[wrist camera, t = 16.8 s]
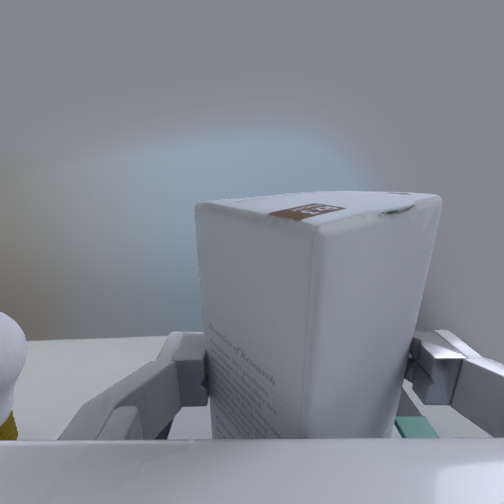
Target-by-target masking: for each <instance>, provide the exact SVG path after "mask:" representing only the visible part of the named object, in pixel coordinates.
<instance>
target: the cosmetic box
mask: <svg viewBox="0 0 504 504" xmlns="http://www.w3.org/2000/svg"><path fill="white" fill-rule="evenodd" d="M442 203H443V202H442V199H441V197H440V196H438V195H434V194H421V193H407V192H405V193H404V192H368V191H321V192H320V191H319V192H304V193H291V194H281V195H270V196H259V197H249V198H238V199H228V200H215V201H202V202H199V203H197V204H196V206H195V223H196V238H197V252H198V265H199V276H200V288H201V299H202V313H203V325H204V338H205V350H206V355H207V366H208V368H207V375H208V379H209V393H210V394H209V399H210V415H211V429H212V439H342V438H391V436H392V431H393V426H394V421H395V417H396V412H397V408H398V404H399V399H400V394H401V389H402V385H403V381H404V376H405V371H406V366H407V362H408V357H409V352H410V348H411V343H412V339H413V335H414V330H415V325H416V321H417V317H418V312H419V308H420V304H421V299H422V295H423V290H424V286H425V282H426V278H427V274H428V269H429V264H430V260H431V256H432V251H433V247H434V242H435V236H436V232H437V227H438V223H439V219H440V214H441V208H442Z"/></svg>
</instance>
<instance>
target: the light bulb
mask: <svg viewBox="0 0 504 504" xmlns="http://www.w3.org/2000/svg"><path fill="white" fill-rule="evenodd" d="M26 354H27V345H26V339H25V336H24V333H23V331H22V330H21V328H20V327H19V325H18V324H17V323H16V322H15V321H14V320H13V319H12V318H10V317H9V316H7V315H6V314H4V313H2V312H0V440H16V439H17V436H18V431H17V427H16V423H15V421H14V417H13V412H12V410H11V409H12V407H13V401H14V396H13V391H14V386H15V383H16V381H17V378H18V376H19V374H20V372H21V370H22V368H23V366H24V363H25V359H26Z"/></svg>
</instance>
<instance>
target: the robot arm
mask: <svg viewBox="0 0 504 504" xmlns="http://www.w3.org/2000/svg"><path fill="white" fill-rule="evenodd" d="M207 368H208V366H207V355H206V350H205V338H204V332H172V333H170V335H169V336H168V338H167V340H166V342H165V344H164V345H163V347H162V349H161V351H160V353H159V355H158V357H157V359H156V361H150V362H149V363H147V364H146V365H144V366H143V367H141V368H140V369H138V370H137V371H135V372H133V373H132V374H130V375H129V376H127V377H126V378H124V379H123V380H121V381H119V382H118V383H116V384H115V385H113V386H112V387H110V388H109V389H107V390H106V391H104V392H102V393H101V394H99V395H98V396H96V397H95V398H93V399H92V400H90V401H88V402H87V403H85V404H84V405H83V406H82V407H81V408H80V410H79V411H78V412H77V414H76V415H75V417H74V418H73V419H72V421H71V422H70V423H69V425H68V426H67V427H66V429H65V430H64V431H63V433H62V434H61V435H60V437H59V438H58V440H0V504H504V365H503V364H501V363H498V362H496V361H493V360H491V359H484V358H483V357H481V356H480V355H479V354H478V353H476V352H475V351H474V350H473V349H471V348H470V347H469V346H468V345H466V344H465V343H464V342H462V341H461V340H460V339H459V338H457V337H456V336H455V335H454V334H452V333H451V332H450V331H447V330H431V331H414V335H413V339H412V343H411V348H410V352H409V357H408V362H407V366H406V371H405V376H404V378H405V379H406V380H408V381H409V382H411V383H413V386H412V389H413V390H414V392H415V393H416V394H417V396H418V397H419V398H420V400H421V401H422V402H423V404H424V405H451V407H452V408H453V409H455V410H456V411H457V412H459V413H460V414H462V415H463V416H464V417H466V418H467V419H469V420H470V421H472V422H473V423H474V424H476V425H477V426H479V427H480V428H481V429H483V430H484V431H486V432H487V433H488V434H490V435H491V436H493V437H494V438H342V439H181V440H154V439H155V438H156V437H157V436H158V434H159V433H160V432H161V431H162V430H163V429H164V428H165V427H166V425H167V424H168V423H169V422H170V421H171V420H172V419H173V418H174V417H175V415H176V414H177V413H178V412H179V411H180V410H181V407H198V406H207V404H208V399H209V394H210V393H209V379H208V375H207Z"/></svg>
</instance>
